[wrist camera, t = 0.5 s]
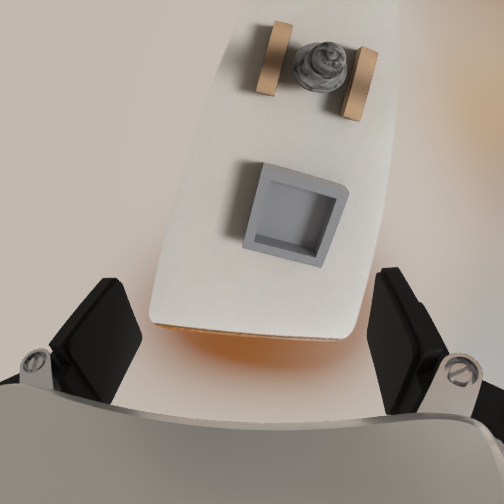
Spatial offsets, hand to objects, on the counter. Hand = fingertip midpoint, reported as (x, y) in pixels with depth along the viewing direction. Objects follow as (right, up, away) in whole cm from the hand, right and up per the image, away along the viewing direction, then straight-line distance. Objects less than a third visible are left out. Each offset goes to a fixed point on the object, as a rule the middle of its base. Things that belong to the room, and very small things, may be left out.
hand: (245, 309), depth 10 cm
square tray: (+6, +7, +27) cm, 29 cm away
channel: (+8, +23, +19) cm, 31 cm away
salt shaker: (+8, +23, +19) cm, 31 cm away
